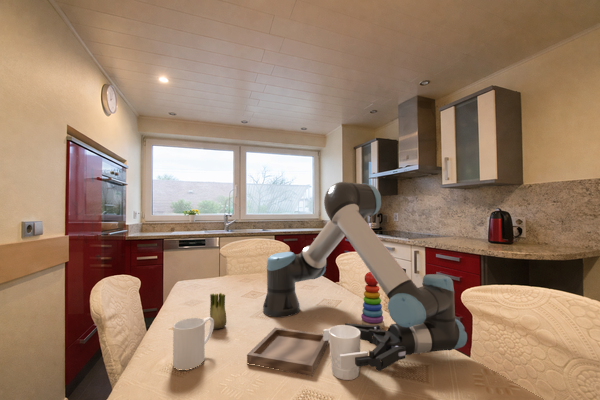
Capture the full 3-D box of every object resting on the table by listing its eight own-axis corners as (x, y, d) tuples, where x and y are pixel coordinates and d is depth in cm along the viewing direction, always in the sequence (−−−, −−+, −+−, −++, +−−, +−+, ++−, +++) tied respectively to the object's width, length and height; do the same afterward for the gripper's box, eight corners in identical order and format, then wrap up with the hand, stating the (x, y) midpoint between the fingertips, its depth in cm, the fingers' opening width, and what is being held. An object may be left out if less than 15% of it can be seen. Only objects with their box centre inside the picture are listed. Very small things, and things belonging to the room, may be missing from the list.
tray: (247, 364, 71) (247, 354, 71) (275, 335, 88) (274, 327, 88) (312, 376, 65) (311, 365, 66) (328, 342, 82) (328, 334, 83)
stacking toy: (385, 331, 90) (383, 274, 91) (361, 329, 91) (359, 274, 93) (383, 322, 98) (381, 270, 99) (360, 320, 99) (359, 269, 100)
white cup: (327, 364, 70) (326, 325, 71) (356, 362, 71) (355, 324, 72) (333, 383, 63) (332, 339, 63) (366, 380, 63) (364, 337, 64)
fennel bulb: (208, 327, 96) (208, 293, 96) (220, 323, 99) (220, 290, 100) (216, 332, 92) (216, 296, 92) (229, 327, 95) (229, 293, 96)
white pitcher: (185, 374, 67) (186, 331, 68) (166, 366, 71) (167, 325, 72) (222, 352, 77) (222, 315, 78) (203, 346, 81) (203, 311, 82)
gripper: (442, 381, 58) (350, 395, 54) (384, 332, 83) (318, 339, 79) (440, 345, 59) (349, 357, 55) (383, 307, 83) (317, 313, 79)
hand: (330, 347), depth 67 cm, fingers open, 13 cm apart
